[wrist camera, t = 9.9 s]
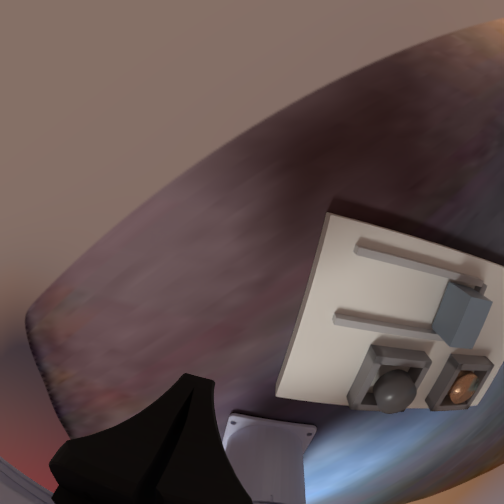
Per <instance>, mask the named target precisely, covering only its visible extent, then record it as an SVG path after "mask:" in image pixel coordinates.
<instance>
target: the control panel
mask: <svg viewBox="0 0 504 504" xmlns="http://www.w3.org/2000/svg"><path fill="white" fill-rule="evenodd" d="M449 282H453V283H457V284H460V285H464V286H468V287H471V288H473V289H474V290H476V291H477V292H479V293H480V294H482V295H483V296H485V297H486V298H488V299H489V300H491V301H492V302H493V303H492V306H491V308H490V311H489V313H488V315H487V318H486V320H485V322H484V325H483V327H482V329H481V332H480V334H479V336H478V338H477V340H476V342H475V344H474V346H473V348H472V349H465V348H454V347H449V346H448V345H447V344H446V343H445V341H444V340H443V339H442V338H441V337H440V336H439V335H438V334H437V333H436V332H435V331H434V330H433V328H432V327H431V326H432V324H433V322H434V319H435V317H436V314H437V312H438V309H439V307H440V304H441V302H442V299H443V297H444V294H445V291H446V288H447V286H448V283H449ZM503 361H504V266H502V265H499V264H497V263H494V262H491V261H488V260H485V259H483V258H480V257H477V256H474V255H471V254H468V253H465V252H462V251H459V250H456V249H453V248H450V247H447V246H444V245H441V244H438V243H435V242H431V241H428V240H425V239H422V238H419V237H415V236H412V235H409V234H405V233H402V232H399V231H395V230H392V229H388V228H385V227H381V226H378V225H374V224H370V223H367V222H363V221H360V220H356V219H352V218H348V217H345V216H341V215H337V214H333V213H329V212H326V216H325V220H324V224H323V228H322V232H321V236H320V240H319V243H318V247H317V251H316V255H315V258H314V262H313V266H312V269H311V273H310V277H309V280H308V284H307V287H306V291H305V294H304V297H303V301H302V304H301V308H300V311H299V314H298V317H297V321H296V324H295V327H294V330H293V334H292V337H291V340H290V343H289V346H288V349H287V352H286V355H285V358H284V361H283V364H282V367H281V370H280V373H279V376H278V379H277V382H276V394H275V396H276V397H282V398H288V399H295V400H302V401H309V402H317V403H326V404H336V405H347V406H349V408H350V409H351V410H367V411H380V410H379V408H378V405H377V402H376V400H375V397H374V395H373V386H374V384H375V382H376V381H377V380H378V379H379V378H380V377H381V376H382V375H383V374H385V373H387V372H389V371H392V370H396V369H400V370H404V371H406V372H407V373H408V375H409V376H410V378H411V380H412V381H413V383H414V385H415V386H416V388H417V394H416V397H415V399H414V400H413V402H412V403H411V404H410V405H409V406H408V407H406V408H429V409H430V411H448V410H462V409H468V408H469V407H470V406H475V405H478V403H479V402H480V400H481V399H482V397H483V396H484V394H485V392H486V391H487V389H488V388H489V386H490V384H491V383H492V381H493V379H494V377H495V376H496V374H497V372H498V370H499V368H500V367H501V365H502V363H503ZM460 370H472V371H473V372H474V374H475V375H476V376H477V377H478V378H479V385H478V388H477V389H476V391H475V392H474V394H473V395H472V396H471V397H470V398H469V399H467V400H466V401H464V402H462V403H459V404H455V403H453V402H452V400H451V399H450V397H449V396H448V394H447V393H448V391H449V390H450V388H451V386H452V384H453V383H454V381H455V379H456V378H457V376H458V374H459V372H460ZM406 408H405V409H406ZM405 409H403V410H401V411H399V412H404V411H405Z"/></svg>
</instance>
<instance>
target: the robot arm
mask: <svg viewBox="0 0 504 504" xmlns="http://www.w3.org/2000/svg"><path fill="white" fill-rule="evenodd" d="M214 386H215V382H214V381H213V380H210V379H206V378H202V377H198V376H194V375H191V374H187V373H185V374H183V375H182V376H181V377H180V378H179V380H178V381H177V382H176V383H175V384H174V385H173V386H172V387H171V388H170V389H169V390H168V391H167V392H165V393H164V394H163V395H162V396H161V397H160V398H159V399H157V400H156V401H155V402H153V403H152V404H151V405H149V406H148V407H147V408H145V409H144V410H143V411H141V412H140V413H138V414H136V415H135V416H133V417H131V418H130V419H128V420H126V421H124V422H122V423H120V424H118V425H116V426H114V427H111V428H109V429H106V430H104V431H101V432H98V433H95V434H92V435H89V436H85V437H81V438H77V439H72V440H68V441H66V443H64V444H63V445H62V446H61V447H60V449H59V450H58V451H57V452H56V454H55V455H54V457H53V458H52V459H51V461H50V463H49V467H50V470H51V472H52V474H53V476H54V477H55V479H56V481H57V482H58V484H59V486H58V488H57V489H56V491H55V493H52V492H50V491H49V490H47V489H46V488H44V487H42V486H41V485H39V484H38V483H36V482H35V481H33V480H32V479H30V478H29V477H27V476H26V475H24V474H23V473H21V472H20V471H19V470H17V469H16V468H15V467H13V466H12V465H11V464H9V463H8V462H7V461H5V460H4V459H3V458H2V457H0V504H306V500H305V482H304V465H303V454H304V452H305V451H306V449H307V447H308V445H309V444H310V442H311V440H312V438H313V437H314V435H315V433H316V431H317V428H316V426H314V425H306V424H298V423H290V422H283V421H276V420H270V419H264V418H258V417H252V416H247V415H242V414H237V413H232V414H230V415H229V419H228V423H227V426H226V430H225V434H224V438H223V441H221V438H220V434H219V430H218V426H217V421H216V416H215V409H214ZM233 421H235V422H233Z"/></svg>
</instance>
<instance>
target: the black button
mask: <svg viewBox="0 0 504 504" xmlns="http://www.w3.org/2000/svg"><path fill="white" fill-rule="evenodd" d="M416 394H417V388H416V386H415V385H414V383H413V381H412V380H411V378H410V376H409V375H408V373H407V372H406V371H404V370H400V369H396V370H392V371H389V372H387V373H385V374H383V375H382V376H381V377H380V378H379V379H378V380H377V381H376V382H375V384H374V386H373V395H374V397H375V400H376V402H377V405H378V408H379V410H380V411H381V412H383V413H387V414H392V413H396V412H399V411H401V410H403V409H405V408H406V407H408V406H409V405H410V404H411V403H412V402H413V400H414V399H415V397H416Z"/></svg>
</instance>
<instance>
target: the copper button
mask: <svg viewBox="0 0 504 504" xmlns="http://www.w3.org/2000/svg"><path fill="white" fill-rule="evenodd" d="M478 385H479V378H478V377H477V376H476V375H475V374H474V372H473V371H472V370H460V372H459V374H458V376H457V378H456V379H455V381H454V383H453V384H452V386H451V388H450V390H449V391H448V393H447V394H448V396H449V397H450V399H451V400H452V402H453V403H455V404H459V403H462V402H464V401H466V400H467V399H469V398H470V397H471V396H472V395H473V394H474V392H475V391H476V389H477V388H478Z"/></svg>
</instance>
